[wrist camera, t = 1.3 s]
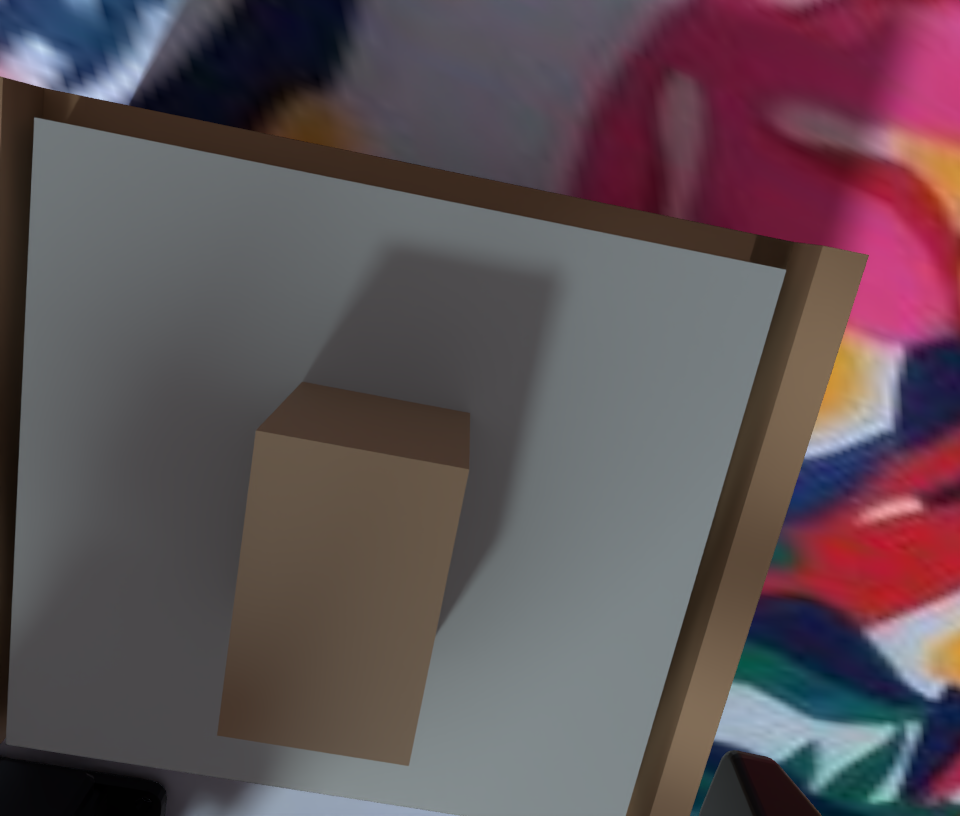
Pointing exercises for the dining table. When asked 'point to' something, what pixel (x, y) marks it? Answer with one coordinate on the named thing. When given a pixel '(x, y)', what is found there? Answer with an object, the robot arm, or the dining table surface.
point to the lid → (359, 480)
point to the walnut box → (809, 268)
